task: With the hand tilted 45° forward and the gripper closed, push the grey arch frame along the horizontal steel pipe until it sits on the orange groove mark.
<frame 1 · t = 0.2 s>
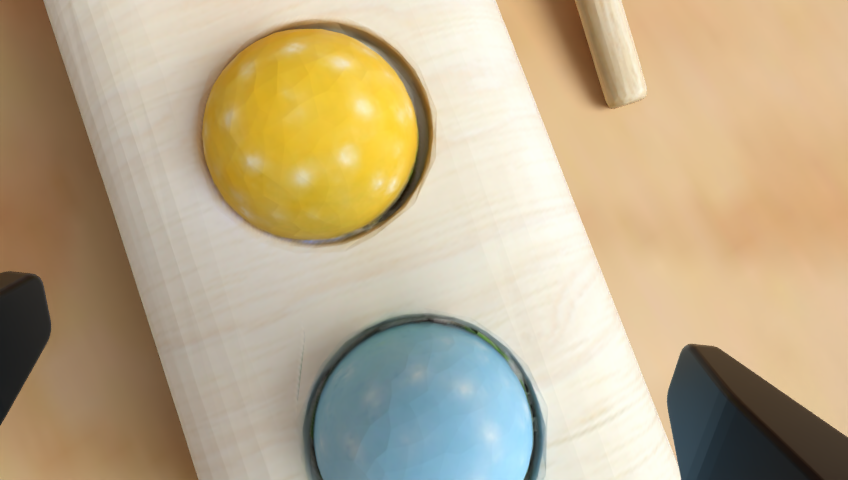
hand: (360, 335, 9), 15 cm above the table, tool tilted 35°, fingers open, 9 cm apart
pound a ball toy: (425, 120, 25), on the table
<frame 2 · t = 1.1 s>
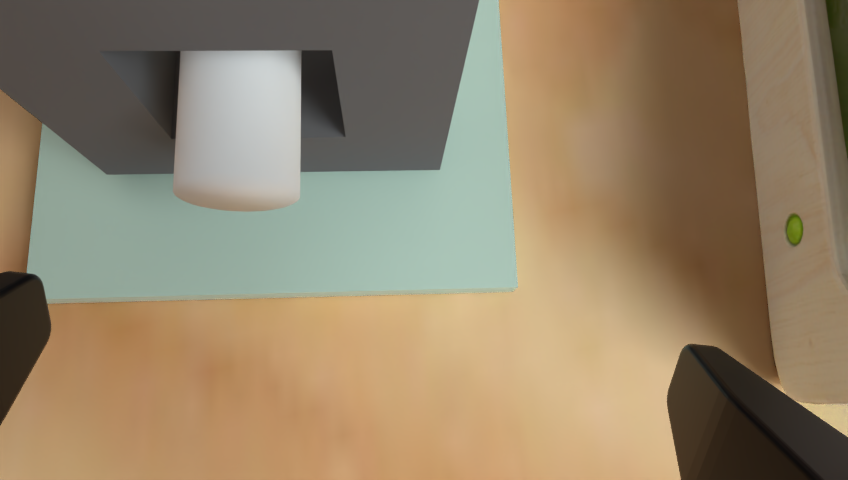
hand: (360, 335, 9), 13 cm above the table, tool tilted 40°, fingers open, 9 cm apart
grey arch frame: (242, 47, 17), point 7 cm above the table, slide at 0.0 cm
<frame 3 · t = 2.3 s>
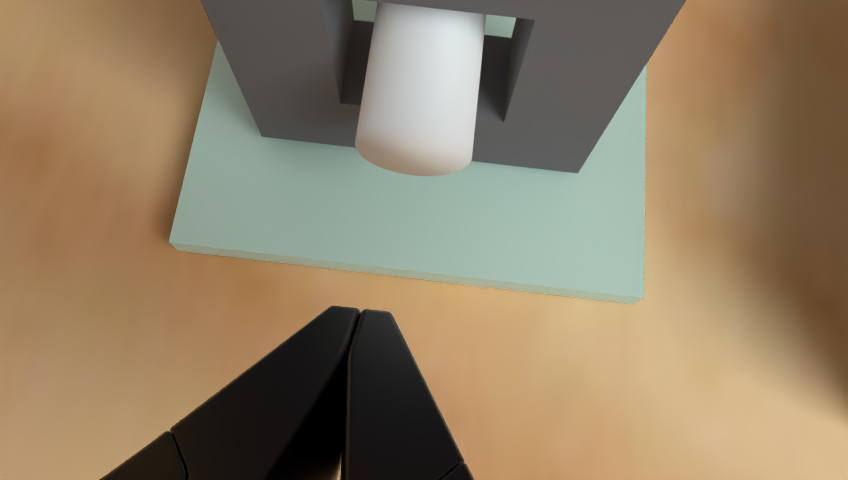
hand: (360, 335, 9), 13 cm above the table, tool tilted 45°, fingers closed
grey arch frame: (430, 19, 18), point 7 cm above the table, slide at 0.0 cm
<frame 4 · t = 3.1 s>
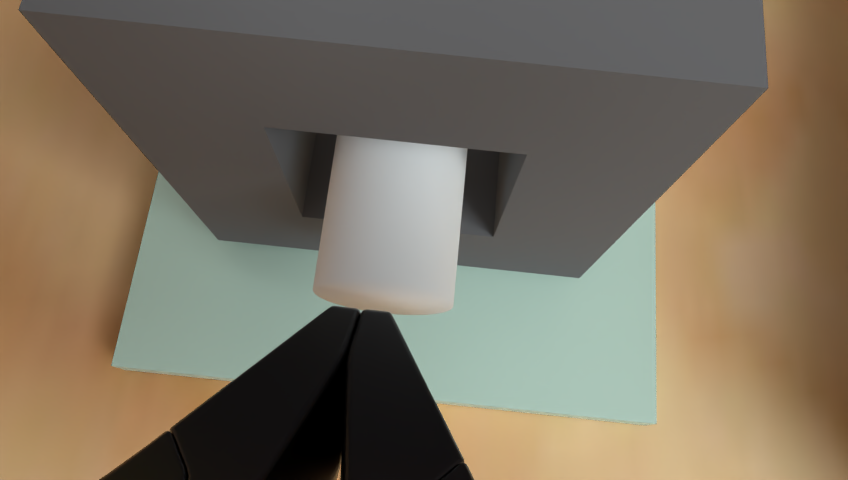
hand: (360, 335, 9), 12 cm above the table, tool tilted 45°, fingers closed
pipe rig: (425, 47, 24), on the table
grey arch frame: (404, 130, 15), point 7 cm above the table, slide at 0.0 cm
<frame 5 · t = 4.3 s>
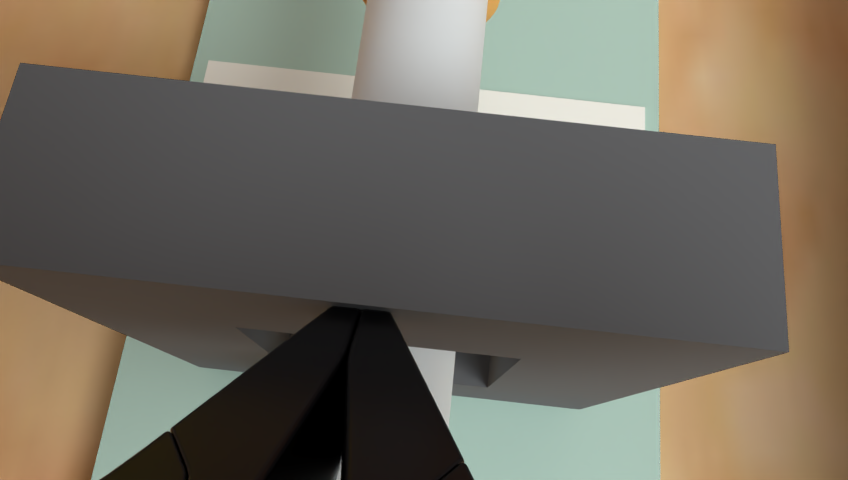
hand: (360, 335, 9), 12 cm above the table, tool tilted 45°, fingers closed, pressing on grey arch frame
pipe rig: (417, 163, 23), on the table
grey arch frame: (391, 292, 14), point 7 cm above the table, slide at 0.7 cm, touching gripper
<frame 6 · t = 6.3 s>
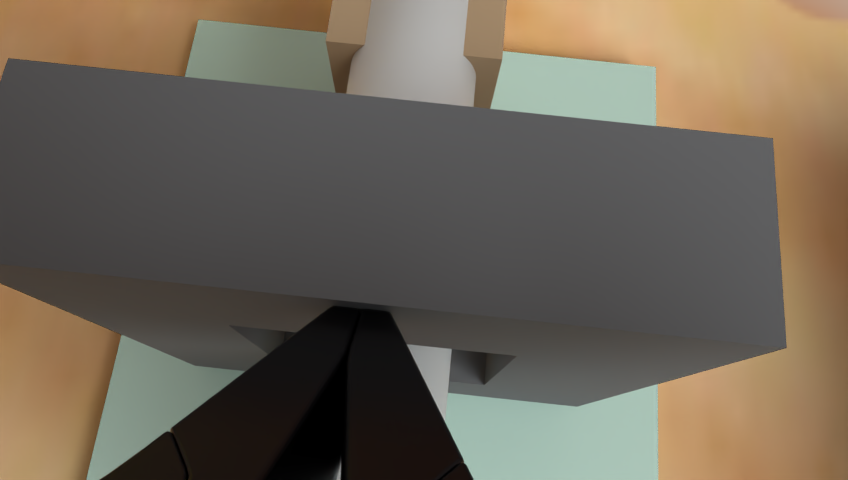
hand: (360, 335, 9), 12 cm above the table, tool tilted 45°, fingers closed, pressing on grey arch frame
pipe rig: (384, 413, 20), on the table
grey arch frame: (386, 290, 14), point 7 cm above the table, slide at 9.2 cm, touching gripper
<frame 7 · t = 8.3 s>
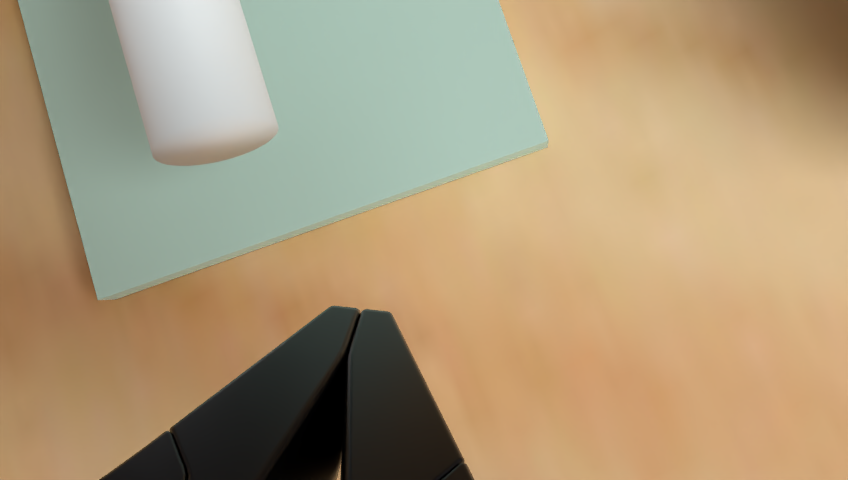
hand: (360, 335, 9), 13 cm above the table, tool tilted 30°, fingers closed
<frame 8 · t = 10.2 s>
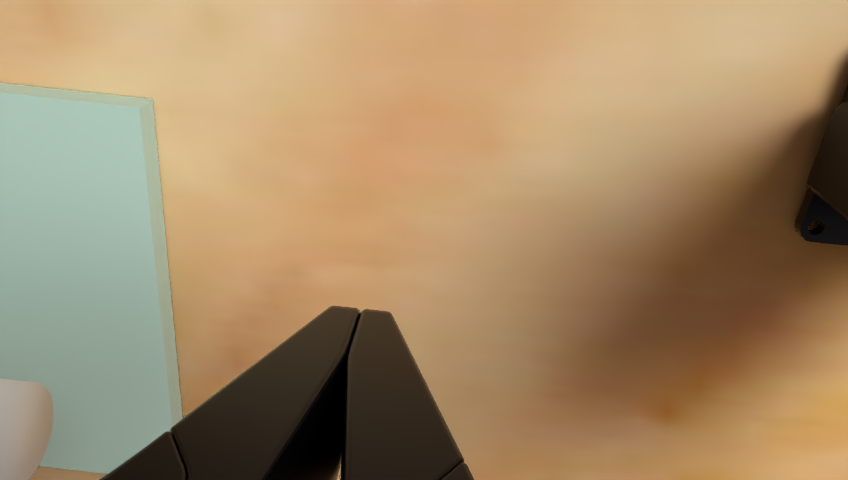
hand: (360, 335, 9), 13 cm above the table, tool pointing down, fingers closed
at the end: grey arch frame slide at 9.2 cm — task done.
